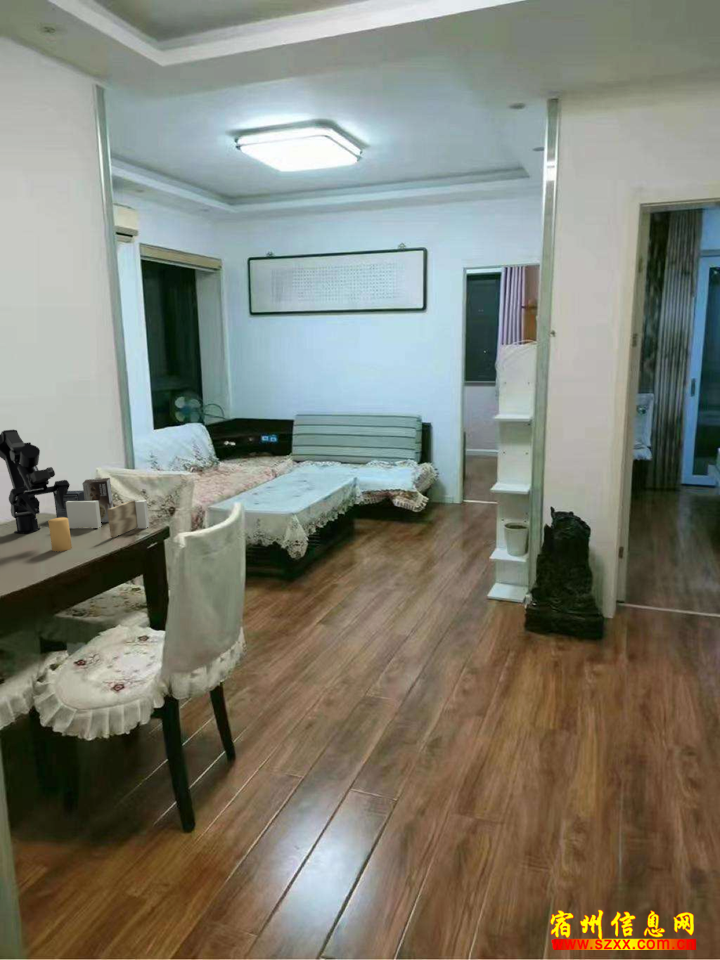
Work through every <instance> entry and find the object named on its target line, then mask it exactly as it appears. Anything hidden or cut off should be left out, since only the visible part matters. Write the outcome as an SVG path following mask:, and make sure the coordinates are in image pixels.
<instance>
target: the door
mask: <svg viewBox="0 0 720 960" xmlns="http://www.w3.org/2000/svg"><path fill="white" fill-rule="evenodd" d="M135 502H136V500H135V499H133V500H132V499H131V500H129V501H125V502H123V503H121V504H118V505H116V506H113V507H112V508H110V509H107V510H108V519H109V522H108V527H109V534H110V535H109V536H110V538H116V537H118V535H119V536H120V535H123V534H125V533H127V532H129V531H132V530H134V529H136V528H137V529H138V524H137V514H136V505H135Z"/></svg>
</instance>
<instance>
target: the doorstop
mask: <svg viewBox="0 0 720 960" xmlns="http://www.w3.org/2000/svg"><path fill="white" fill-rule="evenodd" d="M47 523H48V528H49V529H48V530H49V536H50V544H51V551H52V552H54V551H55V553H59V551H60V552H67V551H69V550H71V549H73V546H72V537H71V531H70V529H71V528H69V521H68V518H64V517H63V518H57V517H55V518H50V519H49V520H48V522H47ZM56 551H57V552H56Z"/></svg>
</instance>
